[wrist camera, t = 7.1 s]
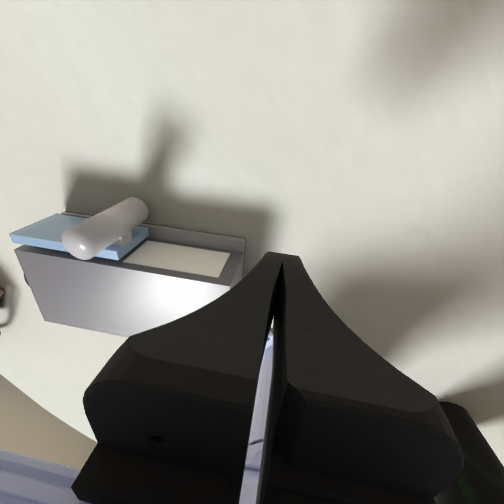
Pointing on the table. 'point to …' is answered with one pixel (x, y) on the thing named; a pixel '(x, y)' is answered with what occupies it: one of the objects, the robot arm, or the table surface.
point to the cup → (472, 464)
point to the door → (90, 232)
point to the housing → (133, 280)
